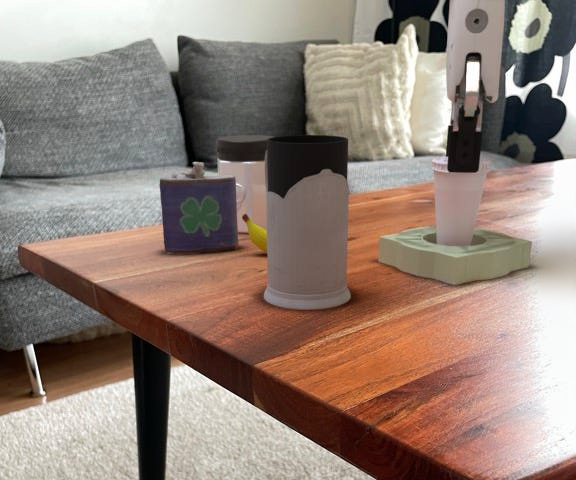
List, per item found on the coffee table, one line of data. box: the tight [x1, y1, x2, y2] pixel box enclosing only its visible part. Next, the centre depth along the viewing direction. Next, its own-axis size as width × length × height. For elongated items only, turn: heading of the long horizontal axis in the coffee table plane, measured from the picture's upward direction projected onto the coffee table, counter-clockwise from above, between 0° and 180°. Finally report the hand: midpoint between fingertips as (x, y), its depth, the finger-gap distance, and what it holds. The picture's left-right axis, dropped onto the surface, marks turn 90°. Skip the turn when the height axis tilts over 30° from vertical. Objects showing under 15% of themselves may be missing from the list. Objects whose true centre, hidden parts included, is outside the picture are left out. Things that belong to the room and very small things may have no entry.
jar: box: [216, 134, 273, 234], centre depth 99 cm, size 9×8×12 cm
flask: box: [158, 161, 239, 255], centre depth 87 cm, size 9×3×11 cm, turn 103°
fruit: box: [242, 214, 267, 253], centre depth 86 cm, size 10×2×5 cm, turn 88°
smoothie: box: [430, 156, 492, 246], centre depth 79 cm, size 6×6×14 cm
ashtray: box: [377, 225, 533, 286], centre depth 82 cm, size 13×13×3 cm
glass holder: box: [263, 134, 352, 311], centre depth 71 cm, size 9×14×15 cm, turn 24°
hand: (461, 165), depth 78 cm, fingers closed on smoothie, 6 cm apart
